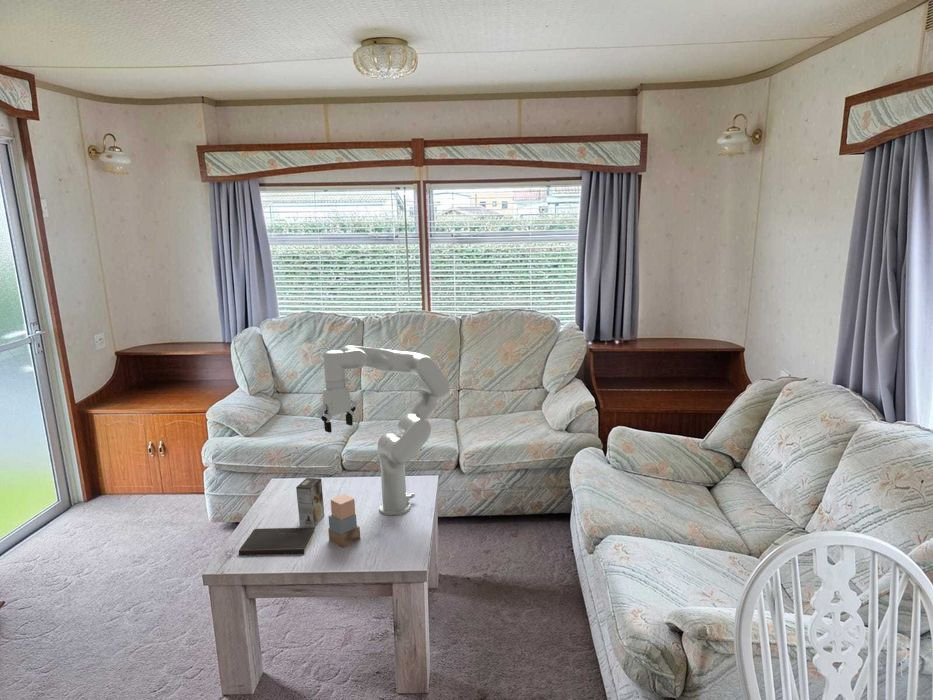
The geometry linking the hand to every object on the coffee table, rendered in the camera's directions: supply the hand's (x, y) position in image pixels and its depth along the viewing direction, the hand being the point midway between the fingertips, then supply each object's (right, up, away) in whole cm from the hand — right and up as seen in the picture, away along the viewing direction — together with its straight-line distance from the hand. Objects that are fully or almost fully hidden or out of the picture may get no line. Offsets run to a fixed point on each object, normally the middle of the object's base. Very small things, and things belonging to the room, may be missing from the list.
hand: (339, 428), depth 222 cm
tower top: (+3, -35, -6) cm, 36 cm away
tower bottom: (+3, -40, -5) cm, 41 cm away
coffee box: (-13, -38, +10) cm, 41 cm away
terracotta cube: (+3, -30, -7) cm, 31 cm away
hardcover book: (-21, -42, -6) cm, 47 cm away
